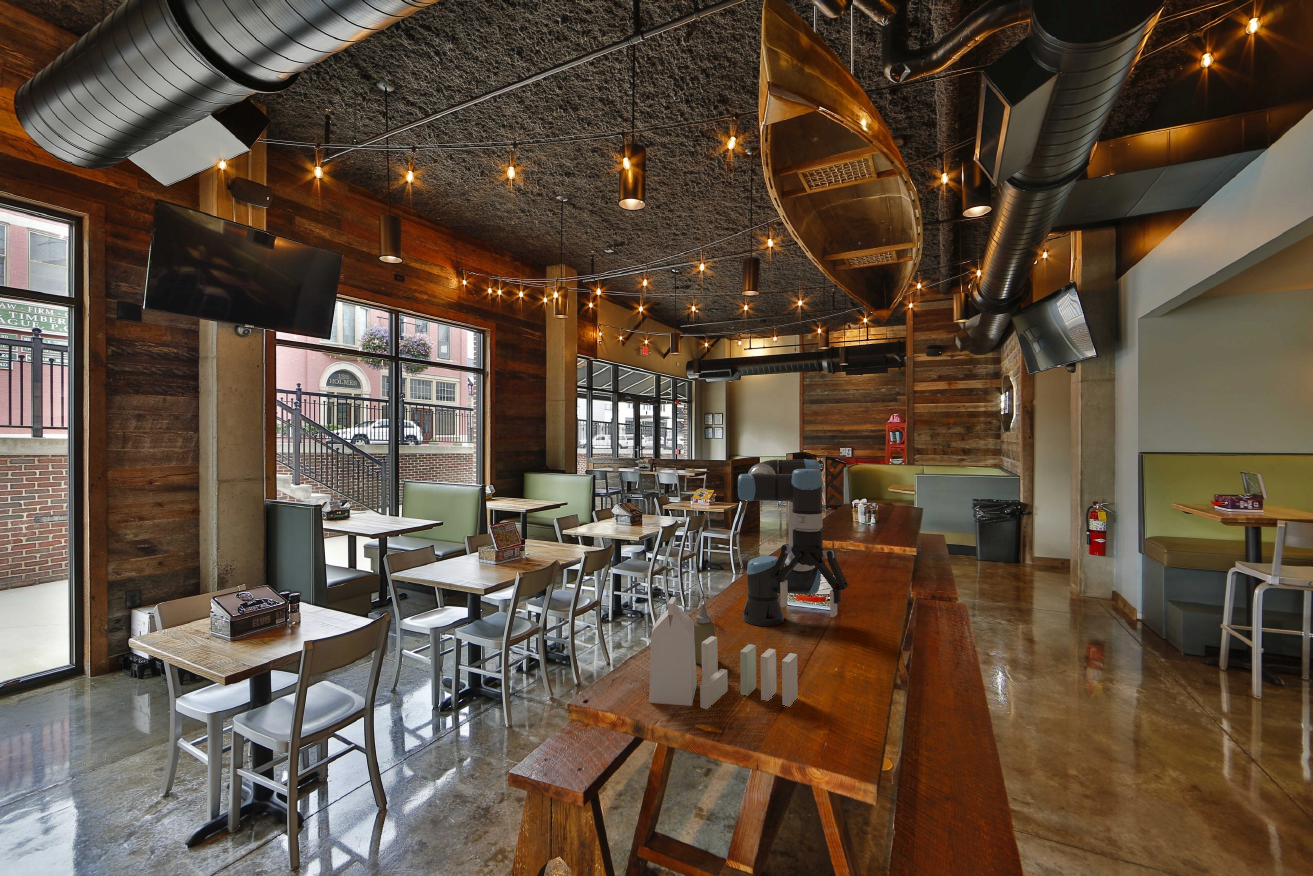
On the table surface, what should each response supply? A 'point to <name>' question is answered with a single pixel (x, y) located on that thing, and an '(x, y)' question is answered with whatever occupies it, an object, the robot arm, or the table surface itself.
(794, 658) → the domino
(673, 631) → the milk
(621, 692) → the table surface
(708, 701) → the domino
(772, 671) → the domino
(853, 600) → the table surface
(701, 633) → the squeeze bottle
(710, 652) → the domino
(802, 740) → the table surface
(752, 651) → the domino
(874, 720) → the table surface
